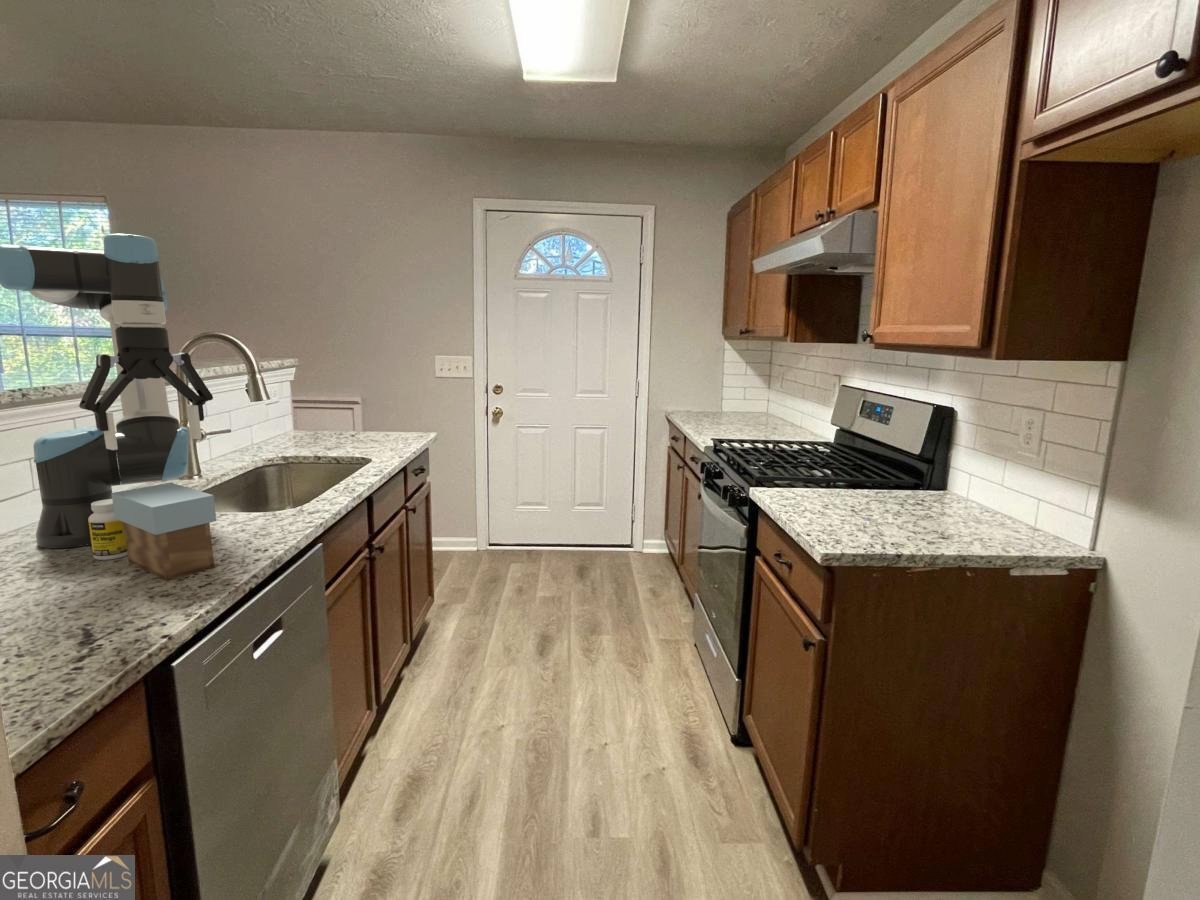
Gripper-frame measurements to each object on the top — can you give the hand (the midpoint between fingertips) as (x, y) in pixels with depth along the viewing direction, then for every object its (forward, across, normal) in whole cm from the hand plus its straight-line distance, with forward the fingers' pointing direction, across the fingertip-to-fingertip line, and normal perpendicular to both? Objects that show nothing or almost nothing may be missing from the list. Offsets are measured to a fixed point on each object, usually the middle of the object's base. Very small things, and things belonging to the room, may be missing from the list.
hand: (156, 443), depth 114 cm
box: (+24, 0, 0) cm, 24 cm away
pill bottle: (+24, -4, +15) cm, 29 cm away
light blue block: (+16, 0, 0) cm, 16 cm away
